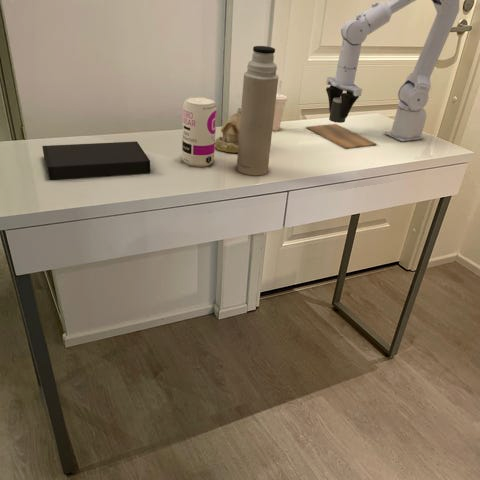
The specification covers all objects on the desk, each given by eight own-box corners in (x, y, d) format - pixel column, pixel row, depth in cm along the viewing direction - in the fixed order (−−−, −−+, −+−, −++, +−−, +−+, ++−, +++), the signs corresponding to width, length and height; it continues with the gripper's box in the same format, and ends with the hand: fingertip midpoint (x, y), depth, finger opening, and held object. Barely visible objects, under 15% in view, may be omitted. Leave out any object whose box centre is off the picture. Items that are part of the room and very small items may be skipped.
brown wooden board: (335, 125, 166) (336, 124, 166) (376, 145, 153) (376, 143, 152) (306, 128, 161) (306, 126, 161) (345, 148, 148) (345, 147, 147)
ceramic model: (230, 135, 149) (232, 99, 143) (264, 143, 145) (268, 107, 139) (208, 148, 138) (209, 110, 132) (244, 157, 135) (248, 118, 129)
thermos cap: (338, 117, 159) (342, 96, 155) (348, 122, 156) (352, 101, 152) (325, 118, 157) (329, 97, 153) (335, 123, 154) (339, 101, 150)
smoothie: (283, 132, 155) (290, 84, 146) (263, 131, 155) (268, 82, 146) (282, 126, 160) (288, 79, 151) (262, 124, 160) (267, 77, 151)
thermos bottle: (230, 167, 128) (238, 44, 111) (251, 161, 133) (263, 42, 116) (252, 177, 124) (264, 51, 107) (274, 171, 129) (289, 49, 112)
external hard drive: (150, 173, 121) (150, 160, 119) (49, 180, 113) (47, 167, 111) (137, 152, 131) (136, 141, 129) (43, 157, 123) (41, 145, 122)
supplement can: (218, 159, 132) (221, 99, 123) (206, 169, 126) (209, 107, 116) (190, 154, 134) (191, 94, 125) (177, 163, 127) (177, 101, 118)
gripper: (321, 61, 150) (313, 109, 159) (352, 72, 141) (342, 122, 149) (340, 61, 153) (331, 107, 162) (371, 72, 144) (360, 121, 152)
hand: (337, 114), depth 155 cm, fingers closed on thermos cap, 5 cm apart
